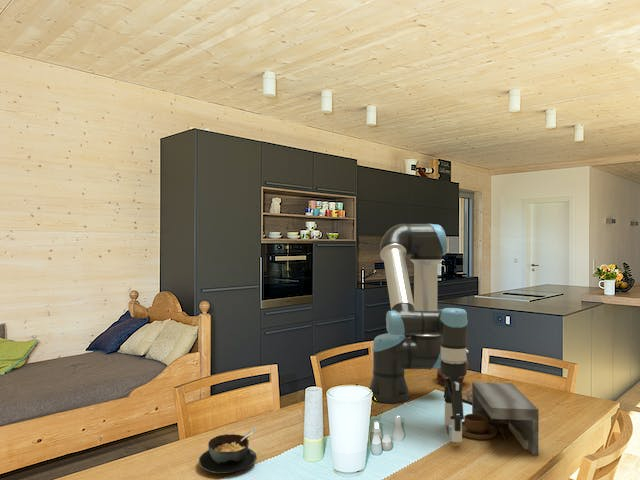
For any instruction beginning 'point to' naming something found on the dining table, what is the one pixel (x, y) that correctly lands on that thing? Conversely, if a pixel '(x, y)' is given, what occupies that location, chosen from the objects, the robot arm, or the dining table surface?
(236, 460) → the soup bowl
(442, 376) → the decorative planter
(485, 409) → the shelf
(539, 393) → the dining table surface
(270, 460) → the dining table surface
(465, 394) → the shell
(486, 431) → the place setting
